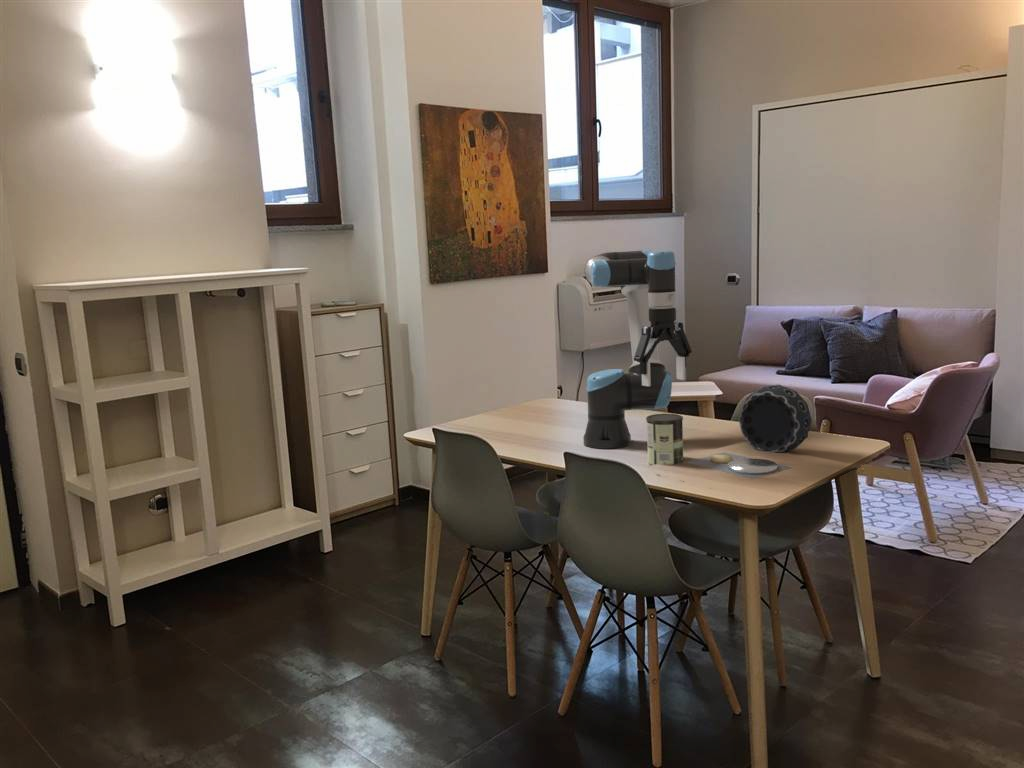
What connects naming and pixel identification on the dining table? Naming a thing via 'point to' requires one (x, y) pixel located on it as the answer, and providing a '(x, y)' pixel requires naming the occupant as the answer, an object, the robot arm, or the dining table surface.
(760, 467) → the metal dome
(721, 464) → the fitting board
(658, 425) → the coffee can
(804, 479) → the dining table surface
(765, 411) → the dark patterned bowl
